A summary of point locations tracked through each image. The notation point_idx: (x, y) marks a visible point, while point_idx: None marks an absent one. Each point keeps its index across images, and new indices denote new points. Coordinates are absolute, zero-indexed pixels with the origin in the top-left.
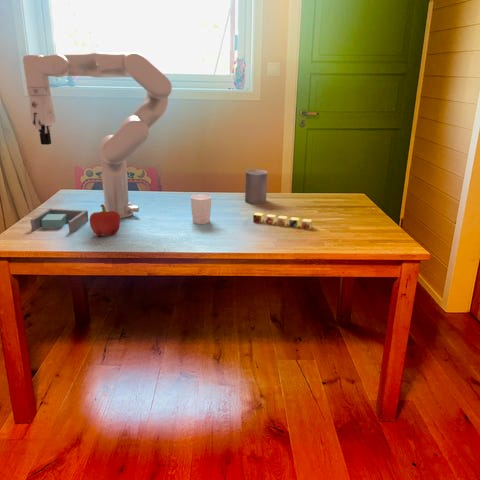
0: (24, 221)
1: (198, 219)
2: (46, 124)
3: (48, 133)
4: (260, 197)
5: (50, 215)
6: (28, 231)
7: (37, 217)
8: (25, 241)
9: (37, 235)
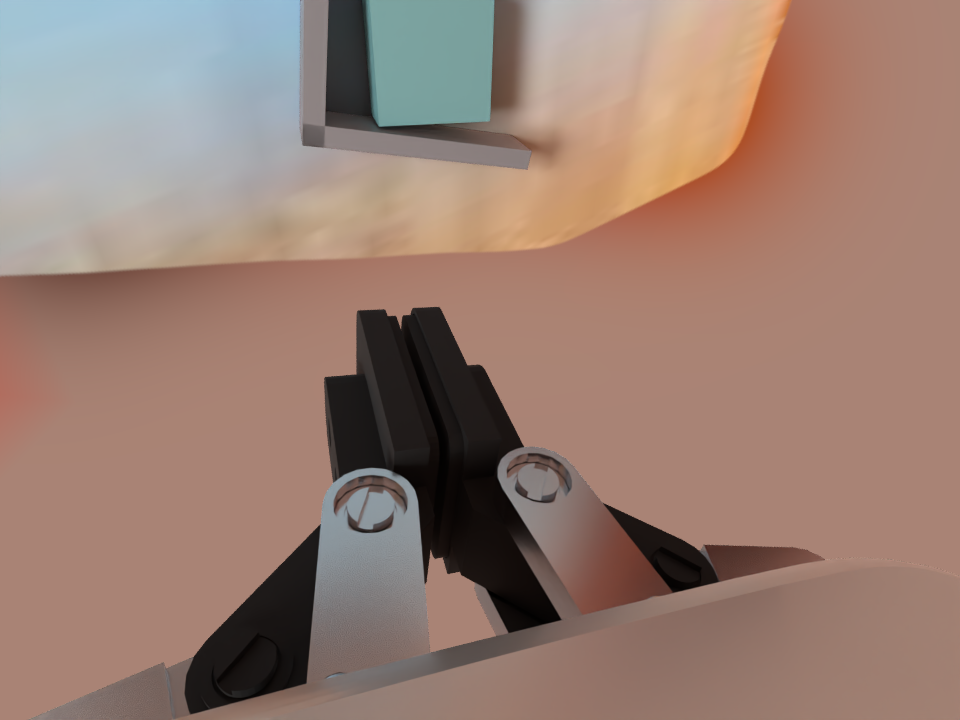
0: (372, 248)
1: None
2: (906, 567)
3: (484, 439)
4: None
5: (405, 95)
6: None
7: (489, 147)
8: (654, 117)
9: (584, 91)
